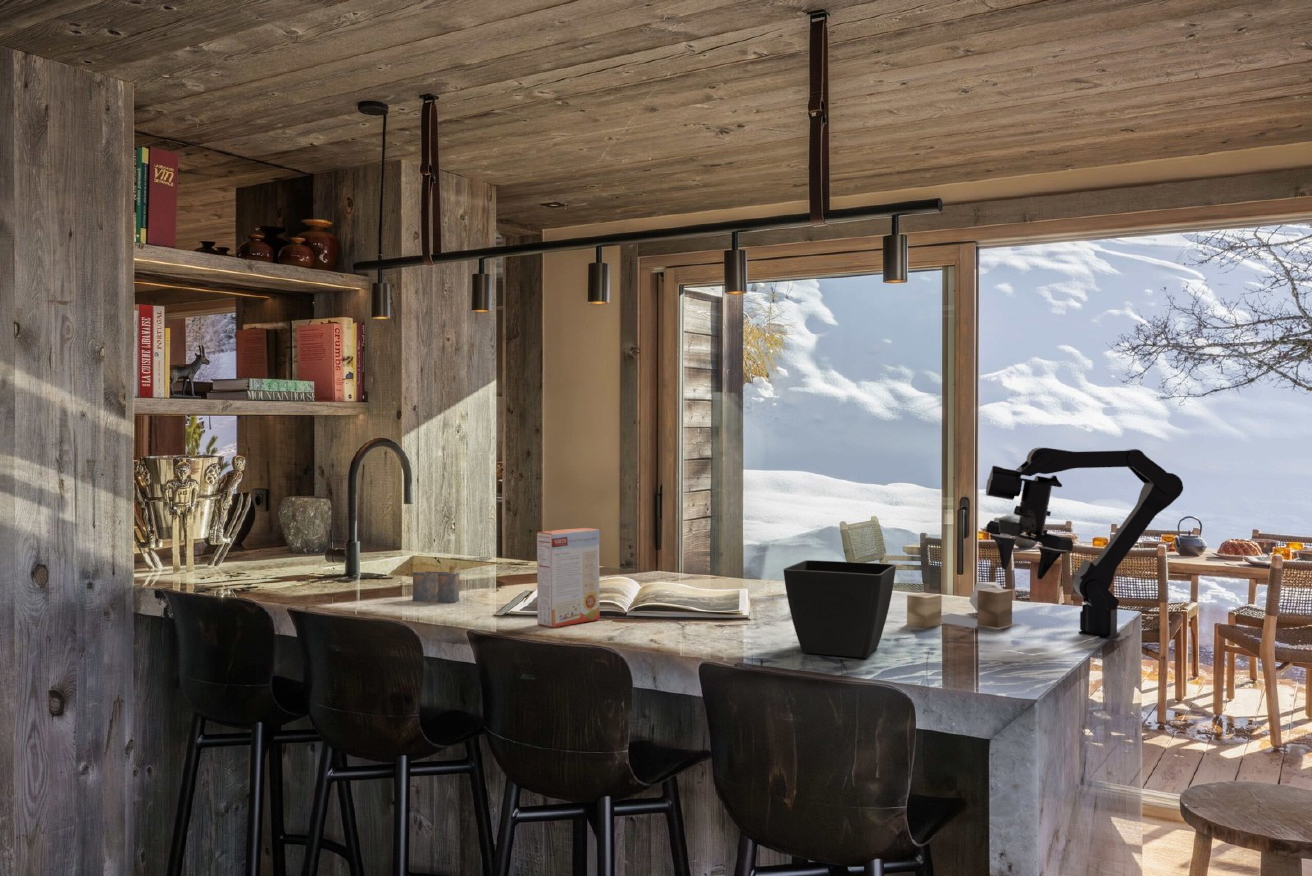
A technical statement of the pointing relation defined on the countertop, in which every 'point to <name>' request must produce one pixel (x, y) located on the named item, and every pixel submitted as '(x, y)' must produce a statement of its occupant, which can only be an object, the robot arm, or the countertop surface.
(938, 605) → the oak block
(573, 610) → the cracker box
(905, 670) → the countertop surface
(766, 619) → the countertop surface
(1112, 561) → the robot arm
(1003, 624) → the walnut block
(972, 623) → the rubber mat
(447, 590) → the grooved slate block
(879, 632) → the flower pot
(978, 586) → the die
